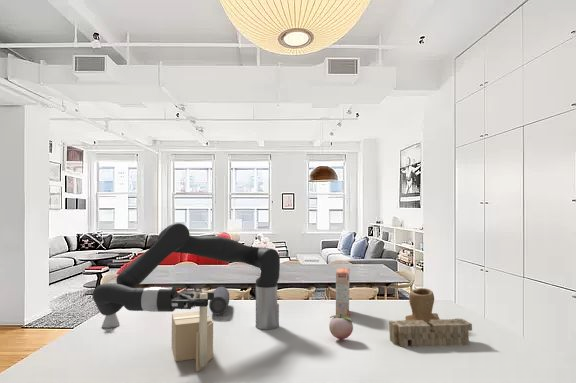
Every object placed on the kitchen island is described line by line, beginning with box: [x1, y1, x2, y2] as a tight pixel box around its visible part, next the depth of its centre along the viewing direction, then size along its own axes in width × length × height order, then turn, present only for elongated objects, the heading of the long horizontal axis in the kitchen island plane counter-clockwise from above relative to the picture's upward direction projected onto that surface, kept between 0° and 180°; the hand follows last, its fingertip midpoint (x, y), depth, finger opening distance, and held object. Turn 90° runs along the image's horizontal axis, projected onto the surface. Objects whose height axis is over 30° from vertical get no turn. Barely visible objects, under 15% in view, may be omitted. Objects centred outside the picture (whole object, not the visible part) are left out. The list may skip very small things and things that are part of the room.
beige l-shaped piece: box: [195, 293, 214, 373], centre depth 127 cm, size 12×3×24 cm, turn 169°
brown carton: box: [171, 310, 213, 362], centre depth 138 cm, size 12×14×12 cm
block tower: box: [388, 317, 473, 348], centre depth 148 cm, size 8×8×29 cm
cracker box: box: [335, 267, 350, 318], centre depth 187 cm, size 14×6×21 cm, turn 168°
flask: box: [101, 312, 121, 329], centre depth 168 cm, size 7×7×10 cm
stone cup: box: [404, 287, 440, 324], centre depth 172 cm, size 15×12×15 cm
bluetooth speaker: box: [208, 286, 230, 315], centre depth 193 cm, size 23×9×10 cm, turn 6°
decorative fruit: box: [328, 314, 354, 341], centre depth 150 cm, size 9×8×10 cm
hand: (211, 299), depth 122 cm, fingers open, 8 cm apart
